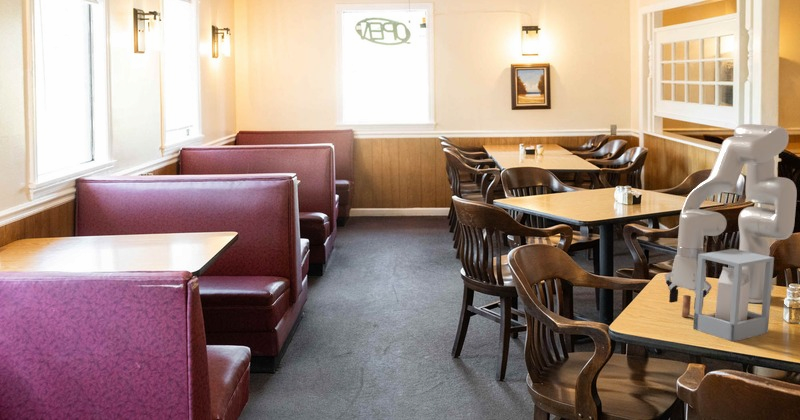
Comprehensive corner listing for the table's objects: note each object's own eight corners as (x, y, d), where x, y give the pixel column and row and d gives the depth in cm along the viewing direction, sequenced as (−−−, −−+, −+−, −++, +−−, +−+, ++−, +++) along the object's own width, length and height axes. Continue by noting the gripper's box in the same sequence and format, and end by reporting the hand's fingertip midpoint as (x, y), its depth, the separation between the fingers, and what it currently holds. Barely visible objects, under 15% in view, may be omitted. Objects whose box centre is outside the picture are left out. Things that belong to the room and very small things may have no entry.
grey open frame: (727, 320, 264) (733, 248, 260) (767, 333, 252) (774, 257, 248) (693, 328, 256) (698, 254, 252) (732, 341, 244) (739, 263, 240)
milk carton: (722, 325, 259) (726, 264, 256) (746, 329, 254) (751, 268, 251) (714, 330, 253) (718, 268, 250) (738, 335, 249) (743, 272, 246)
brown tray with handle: (695, 312, 272) (696, 292, 270) (757, 331, 252) (759, 310, 251) (670, 317, 266) (671, 297, 264) (733, 337, 246) (734, 316, 245)
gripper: (721, 256, 259) (716, 310, 261) (675, 246, 273) (671, 297, 276) (704, 258, 255) (700, 314, 258) (659, 248, 269) (655, 300, 272)
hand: (685, 305), depth 267 cm, fingers open, 9 cm apart
